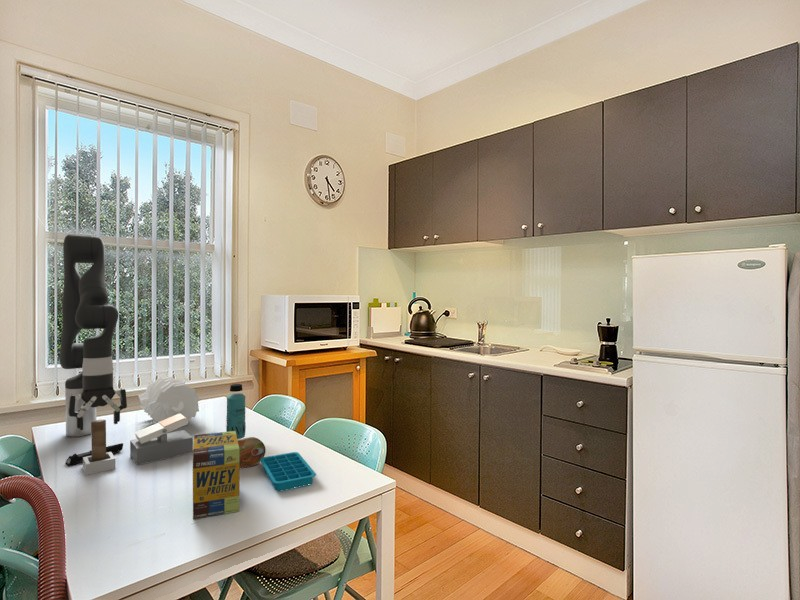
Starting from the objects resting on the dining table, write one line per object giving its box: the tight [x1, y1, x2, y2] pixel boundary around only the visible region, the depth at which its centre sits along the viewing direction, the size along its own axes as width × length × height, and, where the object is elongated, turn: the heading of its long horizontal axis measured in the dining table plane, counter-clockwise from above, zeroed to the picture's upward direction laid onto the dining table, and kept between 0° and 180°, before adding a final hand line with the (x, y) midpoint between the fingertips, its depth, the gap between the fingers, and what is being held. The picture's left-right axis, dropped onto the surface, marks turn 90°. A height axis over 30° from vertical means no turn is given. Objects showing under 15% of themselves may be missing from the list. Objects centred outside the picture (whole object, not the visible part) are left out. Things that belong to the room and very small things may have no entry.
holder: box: [82, 452, 116, 476], centre depth 134 cm, size 7×7×3 cm
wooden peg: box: [90, 419, 107, 462], centre depth 133 cm, size 4×4×14 cm
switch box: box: [129, 429, 194, 466], centre depth 145 cm, size 10×16×7 cm, turn 131°
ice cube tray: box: [260, 451, 317, 492], centre depth 129 cm, size 12×20×3 cm, turn 28°
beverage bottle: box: [225, 383, 247, 439], centre depth 157 cm, size 6×7×20 cm
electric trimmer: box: [64, 442, 124, 467], centre depth 142 cm, size 4×16×3 cm, turn 143°
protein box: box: [192, 431, 241, 520], centre depth 113 cm, size 10×15×16 cm
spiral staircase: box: [138, 376, 201, 426], centre depth 178 cm, size 18×18×25 cm
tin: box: [237, 436, 266, 469], centre depth 135 cm, size 15×3×8 cm, turn 117°
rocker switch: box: [134, 413, 189, 444], centre depth 145 cm, size 8×14×2 cm, turn 131°
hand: (98, 426), depth 133 cm, fingers open, 8 cm apart
